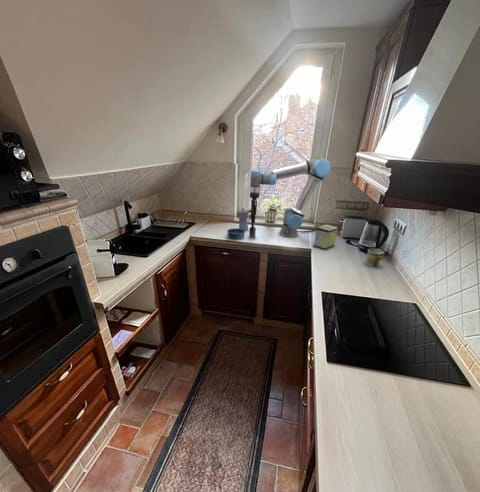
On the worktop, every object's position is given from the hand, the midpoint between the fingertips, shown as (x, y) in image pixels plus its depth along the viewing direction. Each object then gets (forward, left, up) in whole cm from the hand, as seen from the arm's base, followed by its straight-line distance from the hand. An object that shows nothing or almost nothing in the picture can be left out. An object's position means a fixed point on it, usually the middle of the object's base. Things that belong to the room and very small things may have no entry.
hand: (252, 222), depth 209 cm
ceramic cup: (-74, +60, -14) cm, 96 cm away
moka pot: (+4, -22, -14) cm, 26 cm away
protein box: (-55, +22, -14) cm, 61 cm away
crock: (0, 0, -14) cm, 14 cm away
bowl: (+14, -1, -14) cm, 20 cm away
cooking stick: (0, 0, -9) cm, 9 cm away
